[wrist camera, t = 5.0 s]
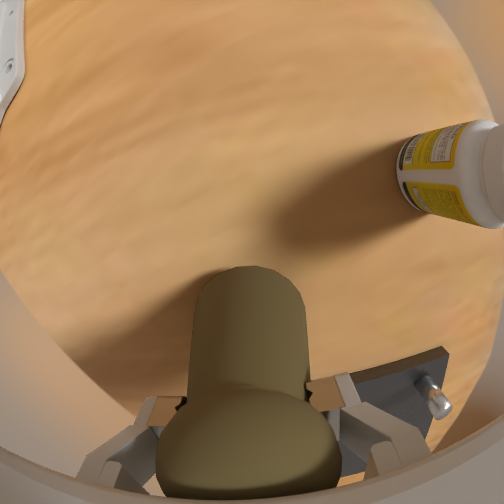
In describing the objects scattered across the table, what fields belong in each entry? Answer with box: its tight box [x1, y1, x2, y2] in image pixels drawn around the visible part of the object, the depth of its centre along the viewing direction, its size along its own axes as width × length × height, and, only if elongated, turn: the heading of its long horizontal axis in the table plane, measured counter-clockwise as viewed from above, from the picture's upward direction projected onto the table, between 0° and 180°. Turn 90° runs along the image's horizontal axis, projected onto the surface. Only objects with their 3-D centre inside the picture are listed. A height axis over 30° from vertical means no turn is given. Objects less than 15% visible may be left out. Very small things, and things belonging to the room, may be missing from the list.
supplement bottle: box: [397, 120, 504, 229], centre depth 10 cm, size 5×5×8 cm
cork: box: [155, 266, 342, 500], centre depth 10 cm, size 6×6×11 cm
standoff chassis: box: [338, 346, 452, 477], centre depth 17 cm, size 13×13×5 cm
